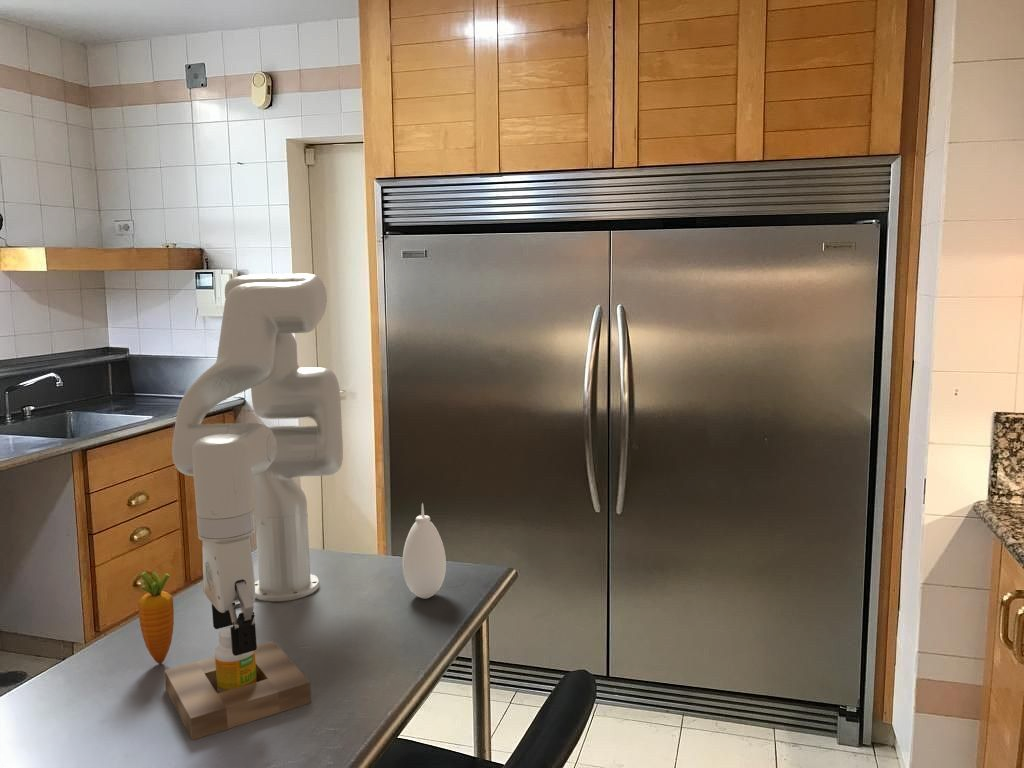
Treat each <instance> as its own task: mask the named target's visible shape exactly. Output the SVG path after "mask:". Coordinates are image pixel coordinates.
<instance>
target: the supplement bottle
mask: <svg viewBox="0 0 1024 768" xmlns="http://www.w3.org/2000/svg"><path fill="white" fill-rule="evenodd" d="M231 627H233V625H231V626H227V627H224V628H221V630H220V631H219V632H218V642H219V645H217V647H216V649H215V651H214V657H215V664H216V677H217V690H216V692H217V694H218V693H221V692H224V691H228V690H231V689H235V688H238V687H242V686H245V685H248V684H252V683H255V682H257V677H256V661H255V651H251V652H248V653H244V654H241V655H237V656H234V655H233V653H232V642H231V629H230V628H231Z"/></svg>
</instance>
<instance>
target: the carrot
mask: <svg viewBox="0 0 1024 768" xmlns="http://www.w3.org/2000/svg"><path fill="white" fill-rule="evenodd" d="M150 575H151V576H150ZM140 577H141V578H142V580H143V581H144V583H145V584H146V585H141V587H140V589H142V590H144V591H145V592H147V593H145V594H144V595H143V596H142V597H141V598H140V599H139V600H138V602H137V608H138V609H137V610H138V617H139V618H138V620H139V625H140V632H141V634H142V638H143V641H144V645H145V647H146V649H147V651H148V652H149V655H150V656H151V657H152V659H153V660H154V661H155V663H157V664H158V665H162V664H163V663H164V661H165V660H166V657H167V655H168V653H169V650H170V647H171V644H172V640H173V633H174V625H175V624H174V623H175V619H174V618H175V616H174V614H175V613H174V598H173V596H172V594H170V593H169V592H167V591H164V589H163V588H165V587H164V586H165V585H166V583H167V581H168V580H169V578H170V574H168V573H164V575H163V576H162V578H161V579H160V577H159V576H158V573H156V572H152V573H151V574H149V573H148V572H147V571H144V572H142V573H141V574H140Z"/></svg>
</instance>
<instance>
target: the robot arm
mask: <svg viewBox="0 0 1024 768" xmlns="http://www.w3.org/2000/svg"><path fill="white" fill-rule="evenodd" d="M327 297H328V296H327V290H326V287H325V284H324V280H322V279H321V277H319V276H318V275H316V274H314V273H313V274H312V273H284V274H281V273H264V274H263V273H259V274H256V273H255V274H245V275H240V276H239V275H238V276H235V277H232V278H230V279H229V280H228V281H227V282H226V284H225V286H224V298H225V300H224V306H223V312H222V320H221V327H220V332H219V333H220V336H219V342H218V348H217V357H216V360H215V363H213V364H212V365H211V366H210V367H209V368H208V369H206V370H205V371H204V372H203V373H202V374H201V375H200V376H199V377H197V379H196V380H195V381H194V382H193V383H192V384H191V385H190V387H189V388H187V391H186V392H185V393H184V394H183V396H182V398H181V400H180V402H179V405H178V408H177V411H176V412H177V413H176V418H175V424H174V429H173V436H172V445H171V455H172V456H171V457H172V461H173V464H174V466H175V469H176V470H177V471H178V472H179V473H182V475H185V476H190V477H193V486H194V487H193V488H194V497H195V498H194V499H195V510H196V523H197V524H196V527H197V533H198V536H197V537H198V539H199V540H200V541H201V542H202V543H201V545H202V546H201V547H202V548H201V549H202V550H201V551H202V555H201V556H202V579H203V580H202V584H203V592H204V595H205V596H206V597H207V599H208V600H209V601H210V603H211V612H212V614H211V615H212V624H213V625H212V627H213V629H215V630H219V629H224V628H226V627H229V626H233V627H231V628H230V629H231V642H232V653H233V655H234V656H237V655H241V654H244V653H248V652H251V651H255V650H256V648H257V645H258V644H257V630H256V617H255V616H256V615H255V612H254V607H255V606H254V603H255V602H256V599H257V600H260V601H264V602H272V603H273V602H274V603H275V602H287V601H293V600H298V599H302V598H305V597H306V596H310V595H312V594H313V593H314V592H316V591H317V590H318V589H319V587H320V579H319V577H318V576H317V575H315V574H312V573H311V561H310V560H311V559H310V539H309V538H310V537H309V521H308V519H309V518H308V501H307V500H308V499H307V497H306V494H305V492H304V490H303V489H302V488H301V486H300V485H299V484H298V483H297V482H296V480H295V479H294V478H299V477H325V476H332V475H334V474H337V473H338V472H339V471H340V469H342V465H343V459H344V457H343V456H344V447H343V446H344V445H343V441H344V440H343V425H342V404H341V403H342V401H341V393H340V390H341V389H340V383H339V380H338V378H337V376H336V374H335V372H333V370H331V369H330V368H328V367H327V368H326V367H318V366H317V367H315V366H314V367H313V366H312V367H300V366H299V363H298V349H297V346H298V345H297V341H296V338H295V336H294V335H293V334H306V333H311V332H312V331H313V330H315V328H316V327H317V326H318V324H319V323H320V321H321V320H323V319H322V318H323V317H324V315H325V312H326V308H327V301H328V300H327ZM247 390H251V391H250V392H251V393H250V395H251V402H252V409H253V411H254V413H255V415H256V416H257V417H259V418H262V419H265V420H302V419H303V420H304V419H305V420H306V419H310V420H313V421H314V422H315V423H316V424H314V425H313V424H312V425H278V426H277V425H275V426H267V425H265V424H262V423H257V422H256V423H255V422H254V423H253V422H245V423H244V422H243V423H231V422H230V423H229V422H228V423H227V422H226V423H206V424H205V423H204V424H203V421H204V419H205V417H206V415H207V414H208V413H209V412H210V411H211V410H212V409H213V408H214V407H215V406H217V405H218V404H220V403H221V402H224V401H226V400H227V399H229V398H232V397H234V396H236V395H238V394H241V393H243V392H245V391H247ZM254 533H255V536H256V538H255V539H256V549H257V550H256V555H257V572H258V580H256V581H255V572H254V571H255V570H254V563H253V555H252V546H251V540H250V536H252V535H254ZM238 602H239V603H238ZM237 611H241V612H240V613H239V614H238V615H237Z"/></svg>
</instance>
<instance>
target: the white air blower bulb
mask: <svg viewBox="0 0 1024 768" xmlns="http://www.w3.org/2000/svg"><path fill="white" fill-rule="evenodd" d="M420 509H421V510H420V511H421V514H419V515H418V516H416V518H415V522H414V523H413V524H412V526H411V528H410V530H409V531H408V534H407V537H406V539H405V542H404V547H403V553H402V574H403V579H404V581H405V583H406V585H407V588H408V589H409V590H410V592H411V593H412V594H415V596H416V597H417V598H420V599H430V598H431V597H433V596H434V595H435V594H436V593H437V592H438V591H440V589H441V587H442V585H443V583H444V581H445V578H446V577H445V576H446V571H447V558H446V550H445V546H444V543H443V541H442V537H441V536H440V533H439V531H438V529H437V527H436V526H435V525H434V523H433V522H432V521H431V517H430V516H429V515H425V508H424V503H423V502H422V503H421V508H420Z"/></svg>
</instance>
